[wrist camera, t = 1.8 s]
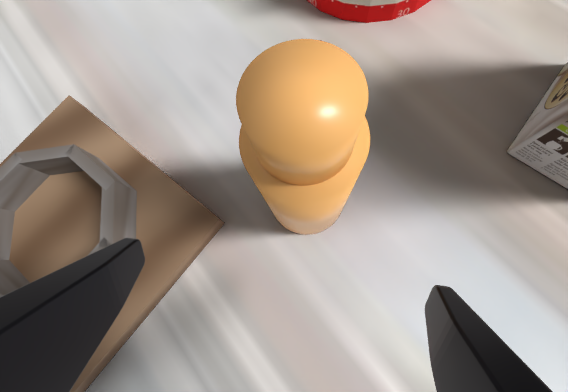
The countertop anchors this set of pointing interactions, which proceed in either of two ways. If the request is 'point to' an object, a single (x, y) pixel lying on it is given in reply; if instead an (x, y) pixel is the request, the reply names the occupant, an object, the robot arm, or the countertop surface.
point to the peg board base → (95, 215)
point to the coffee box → (547, 133)
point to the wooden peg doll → (304, 130)
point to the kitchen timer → (368, 9)
